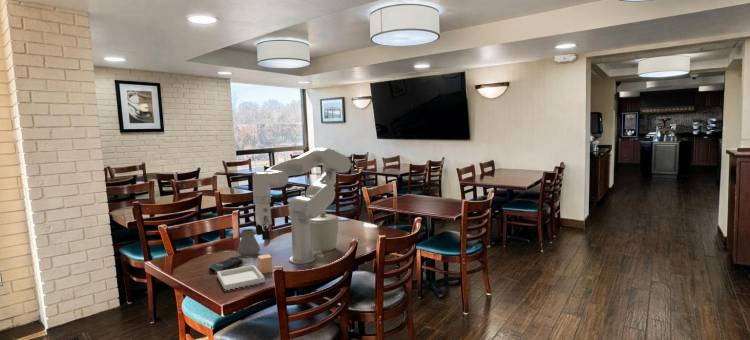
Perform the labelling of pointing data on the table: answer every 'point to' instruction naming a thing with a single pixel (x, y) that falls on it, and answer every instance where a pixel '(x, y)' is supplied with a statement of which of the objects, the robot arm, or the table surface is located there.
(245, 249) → the coffee pot
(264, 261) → the block
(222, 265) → the electronic device
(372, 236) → the table surface
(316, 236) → the canister
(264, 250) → the table surface
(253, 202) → the robot arm
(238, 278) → the tray
